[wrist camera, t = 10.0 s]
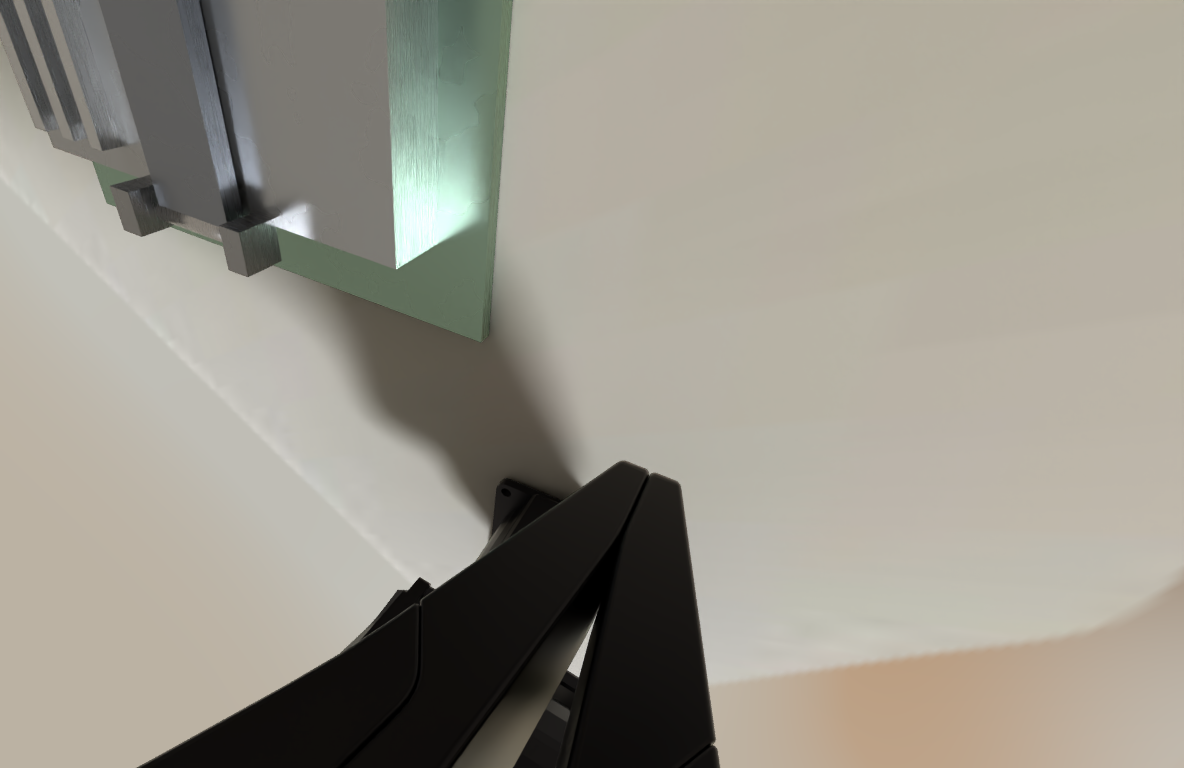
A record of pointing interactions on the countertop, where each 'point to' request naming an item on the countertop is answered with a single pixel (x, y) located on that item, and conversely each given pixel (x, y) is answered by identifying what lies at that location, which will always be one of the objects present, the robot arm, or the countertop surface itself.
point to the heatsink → (313, 137)
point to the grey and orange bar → (176, 110)
